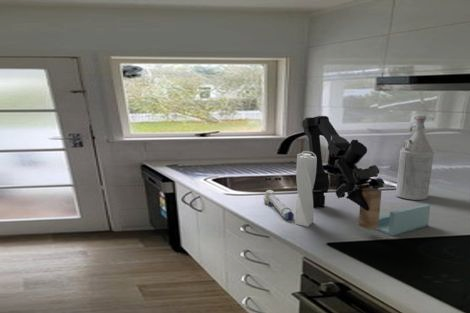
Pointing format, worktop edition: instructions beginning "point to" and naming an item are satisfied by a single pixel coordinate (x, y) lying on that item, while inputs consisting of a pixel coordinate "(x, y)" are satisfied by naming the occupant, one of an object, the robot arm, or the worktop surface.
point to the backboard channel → (404, 220)
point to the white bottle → (415, 164)
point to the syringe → (278, 205)
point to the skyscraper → (305, 187)
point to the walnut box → (370, 209)
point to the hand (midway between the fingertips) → (373, 209)
